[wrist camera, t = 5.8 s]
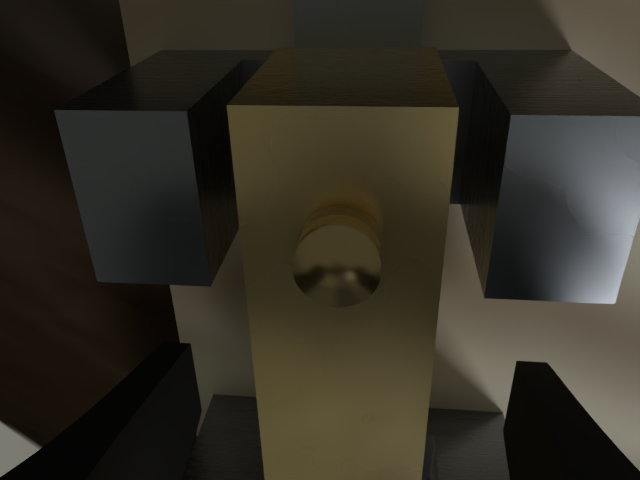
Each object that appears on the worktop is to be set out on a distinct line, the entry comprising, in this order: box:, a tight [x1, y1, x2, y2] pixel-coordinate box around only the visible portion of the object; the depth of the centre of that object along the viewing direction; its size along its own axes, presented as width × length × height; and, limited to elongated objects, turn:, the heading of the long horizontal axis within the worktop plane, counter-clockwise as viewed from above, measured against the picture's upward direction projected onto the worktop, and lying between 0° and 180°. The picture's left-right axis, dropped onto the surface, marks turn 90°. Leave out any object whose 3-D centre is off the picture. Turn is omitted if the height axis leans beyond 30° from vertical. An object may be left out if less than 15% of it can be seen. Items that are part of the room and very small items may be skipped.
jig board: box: [119, 0, 640, 471], centre depth 15 cm, size 16×17×1 cm
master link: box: [227, 47, 459, 480], centre depth 12 cm, size 13×3×5 cm, turn 1°
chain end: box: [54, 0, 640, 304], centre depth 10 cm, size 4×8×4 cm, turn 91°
